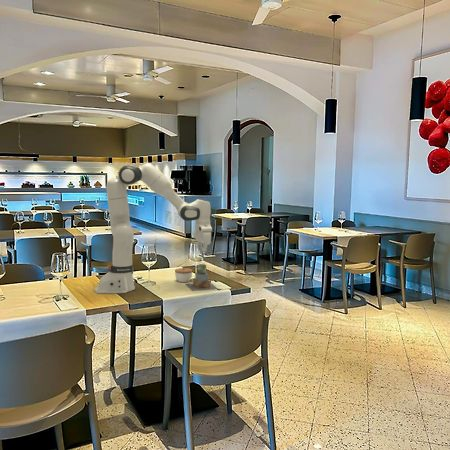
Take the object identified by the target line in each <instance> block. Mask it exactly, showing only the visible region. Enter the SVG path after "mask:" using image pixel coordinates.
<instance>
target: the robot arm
mask: <svg viewBox="0 0 450 450" xmlns="http://www.w3.org/2000/svg"><path fill="white" fill-rule="evenodd" d="M139 181H140V182H143V183H144V184H145V185H146V186H147V187H148V188H149V189H150V190H151V191H153V192H154V193H155V194H156V195H158V196H161V197H163V198H165V199H166V200H168V202H169V203H170V204H171V205H172V206H173V207H174V208H175V209H176V210H177V214H178V215H179V218H181V219H182V220H183V221H185V222H191V221H194V229H195V231H194V232H195V235H194V237H195V238H194V239H195V241H197V245H198V246H197V248H198V250H199V249H200V250H202V251H203V252H207V250H208V249H207V248H208V246H209V245H211V243H212V231H213V227H212V226H211V225H212V224H211V211H212V209H211V208H212V207H211V202H210V201H209V200H207V199H203V198H197V199H196V200H195V201H192V202H187V201H185V200H183V198H181V197H180V196H179V194H178V193H176V191H175V190H174V189H173V187H172V184H171V182H170V180H168V178H167V176H166V175H165V174H164V173H163V172H162V171H161V170H160V169H159V168H157V167H156V166H155V165H153V164H152V163H150V162H146V163H144V164H142V165H141V166H139V167H137V166H136V165H134V164H130V163H127V164H124V165H122V167H121V168H120V169H119V170H118V175H117V177H113V178H111V179H109V180H108V181H107V182H106V198H107V199H106V200H107V207H108V211H109V224H110V231H111V234H112V237H113V239H112V240H113V242H112V255H111V256H112V262H111V263H112V264H108V265H107V268H108V272H107V273H106V274H104V275H102V277H100V279H99V282H98V285H97V286H95V288H94V292H95V293H97V294H126V293H128V292H131V291H133V290H135V289H136V286H135V282H134V277H133V274H134V264H133V247H134V237H135V236H134V234H135V233H134V232H135V231H134V228H133V227H132V226H131V221H130V220H131V219H130V206H129V199H128V192H127V190H128V189H127V188H128V186H130V185H133V184H136V183H137V182H139Z"/></svg>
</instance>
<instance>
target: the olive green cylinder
mask: <svg viewBox="0 0 450 450" xmlns="http://www.w3.org/2000/svg"><path fill="white" fill-rule="evenodd" d="M197 272H198V274H206V273H207V264H203V263H200V264H197Z"/></svg>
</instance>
